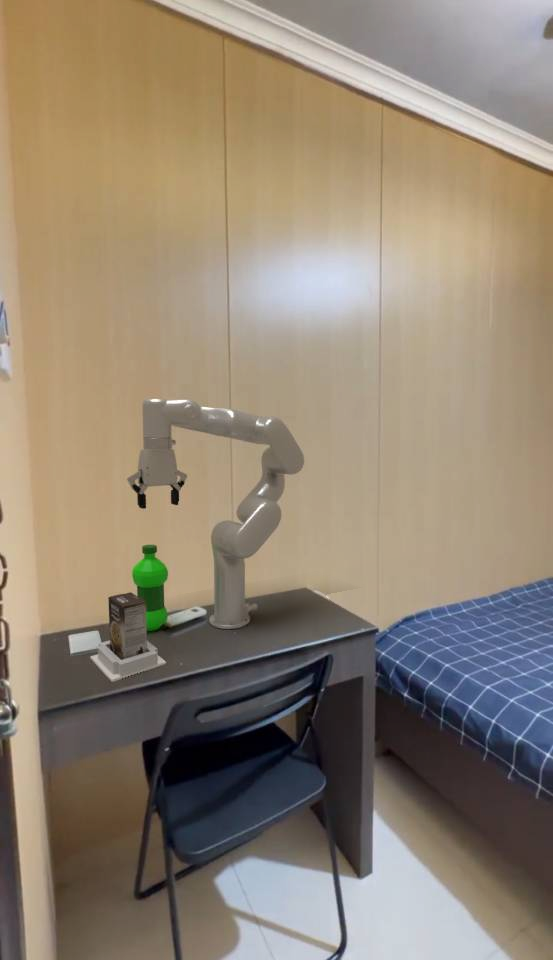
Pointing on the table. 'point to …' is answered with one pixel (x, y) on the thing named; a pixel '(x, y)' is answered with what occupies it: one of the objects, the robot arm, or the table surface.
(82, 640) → the hard drive
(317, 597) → the table surface
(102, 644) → the tray
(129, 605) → the coffee box
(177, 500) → the robot arm
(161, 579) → the plastic bottle
